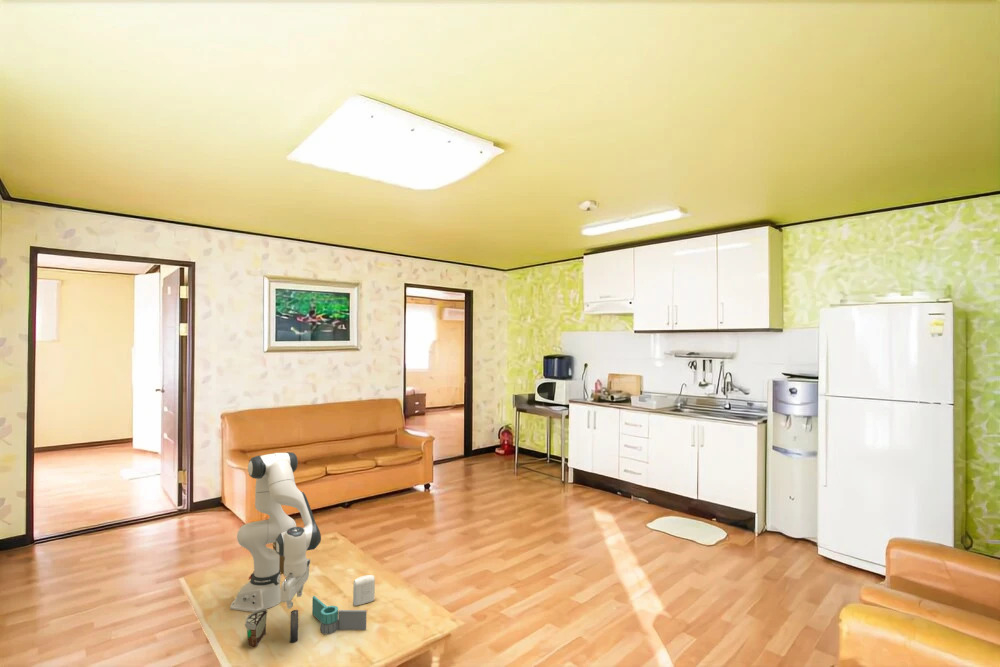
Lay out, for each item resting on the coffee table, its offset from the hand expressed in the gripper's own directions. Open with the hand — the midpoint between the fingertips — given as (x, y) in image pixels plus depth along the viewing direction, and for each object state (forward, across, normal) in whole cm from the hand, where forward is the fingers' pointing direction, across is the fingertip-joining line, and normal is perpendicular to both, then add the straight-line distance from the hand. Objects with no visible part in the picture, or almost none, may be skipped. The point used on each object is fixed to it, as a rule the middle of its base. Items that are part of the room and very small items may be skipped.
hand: (294, 601), depth 202 cm
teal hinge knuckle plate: (+16, +13, -7) cm, 22 cm away
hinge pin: (+16, +1, 0) cm, 16 cm away
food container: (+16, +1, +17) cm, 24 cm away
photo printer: (+16, +31, -21) cm, 40 cm away
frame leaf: (+16, +9, -18) cm, 26 cm away
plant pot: (+15, +63, +30) cm, 71 cm away
